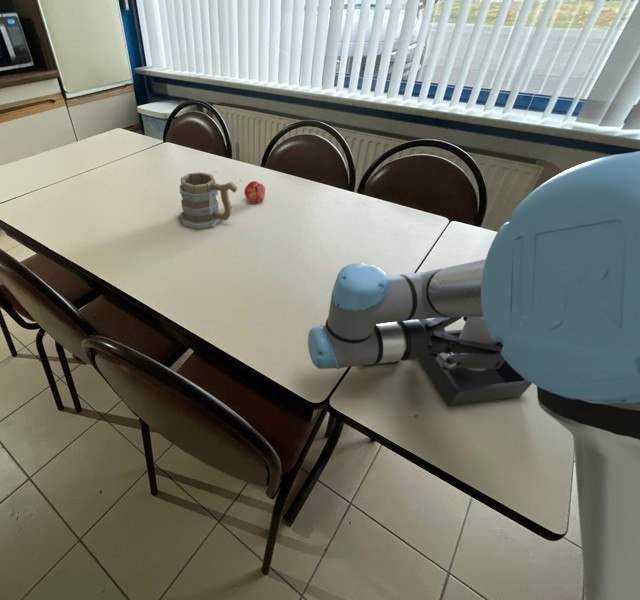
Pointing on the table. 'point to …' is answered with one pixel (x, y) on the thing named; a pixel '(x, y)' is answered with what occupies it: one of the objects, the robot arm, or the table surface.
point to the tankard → (203, 200)
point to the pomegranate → (254, 192)
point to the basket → (474, 381)
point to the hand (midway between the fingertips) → (512, 327)
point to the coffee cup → (476, 333)
